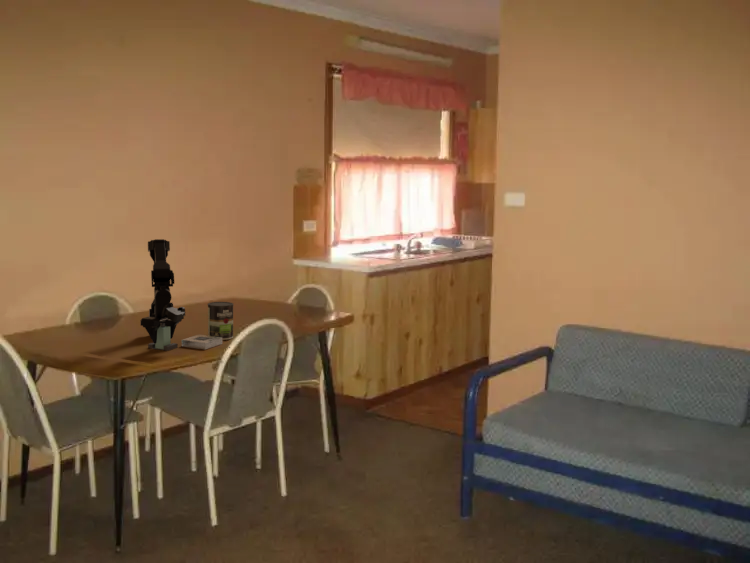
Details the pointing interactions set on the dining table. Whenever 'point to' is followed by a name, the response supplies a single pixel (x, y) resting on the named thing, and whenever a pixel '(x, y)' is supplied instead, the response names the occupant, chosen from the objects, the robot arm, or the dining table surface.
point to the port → (202, 341)
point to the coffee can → (220, 320)
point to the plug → (163, 336)
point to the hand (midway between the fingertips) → (162, 340)
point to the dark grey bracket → (166, 348)
